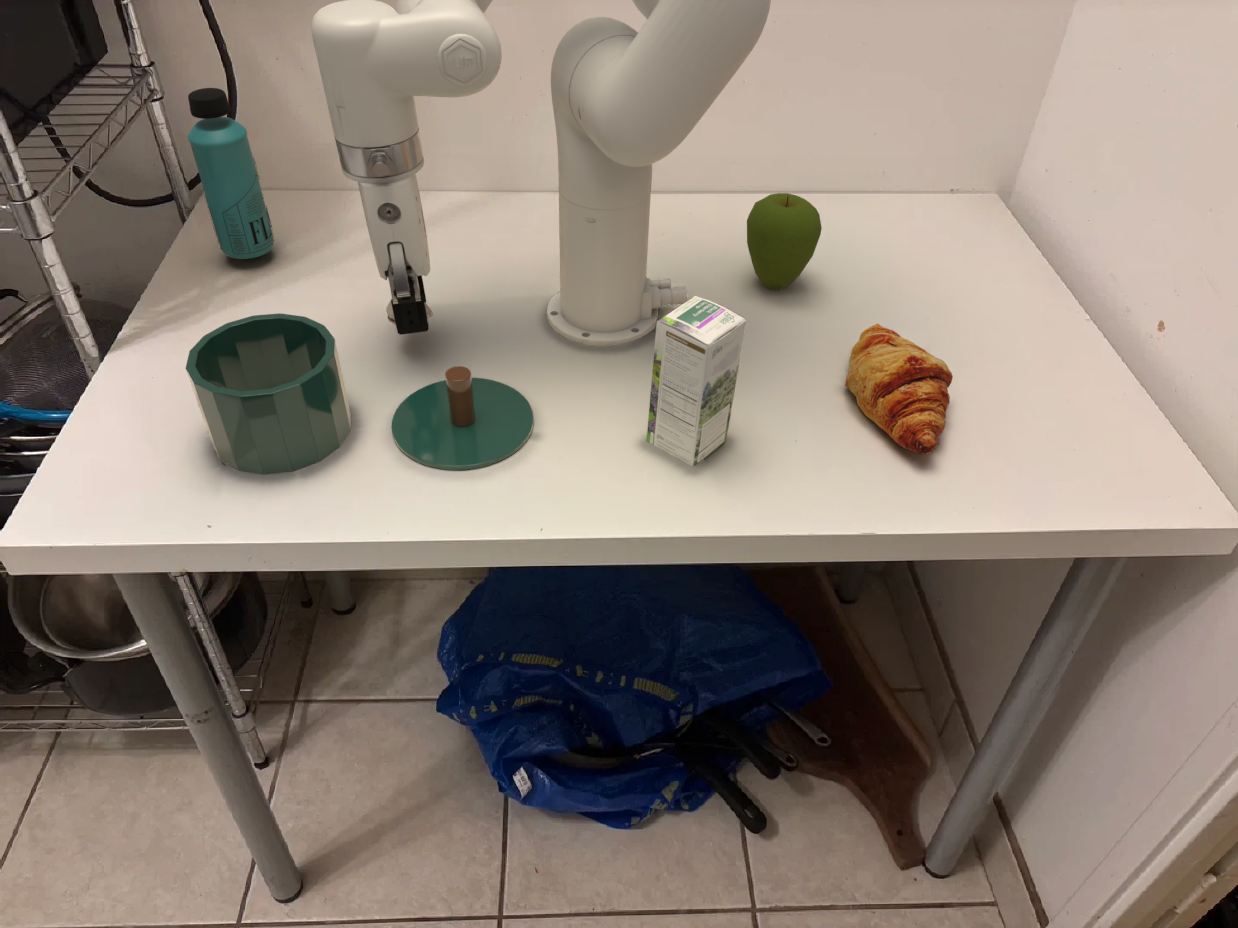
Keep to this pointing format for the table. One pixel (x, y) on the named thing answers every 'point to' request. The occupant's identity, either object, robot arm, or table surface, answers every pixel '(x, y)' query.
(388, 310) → the beige teardrop wedge
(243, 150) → the beverage bottle
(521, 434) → the lid
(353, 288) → the table surface
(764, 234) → the apple
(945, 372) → the croissant
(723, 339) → the syrup box
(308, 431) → the canister
